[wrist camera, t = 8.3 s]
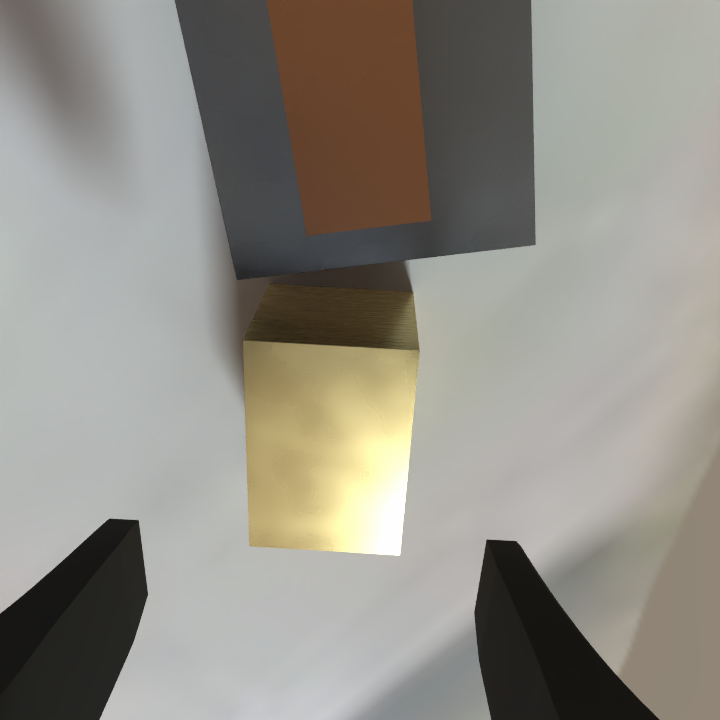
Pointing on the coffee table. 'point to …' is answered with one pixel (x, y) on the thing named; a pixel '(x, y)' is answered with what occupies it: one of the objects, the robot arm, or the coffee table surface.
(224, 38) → the hand plane
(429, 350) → the coffee table surface
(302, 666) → the coffee table surface
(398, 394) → the lever cap
